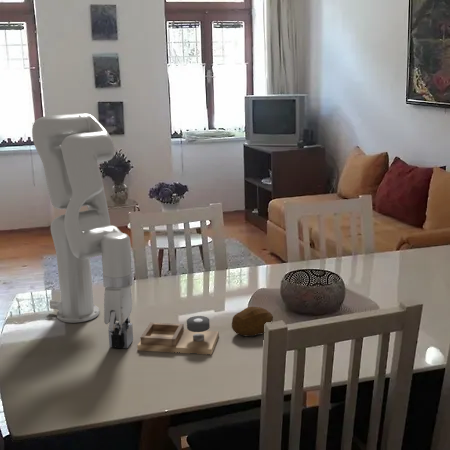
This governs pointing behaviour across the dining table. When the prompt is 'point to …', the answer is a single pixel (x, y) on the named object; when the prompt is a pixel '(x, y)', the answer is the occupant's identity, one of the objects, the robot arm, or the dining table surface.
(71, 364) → the dining table surface
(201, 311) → the dining table surface
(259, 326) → the potato
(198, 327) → the wheel
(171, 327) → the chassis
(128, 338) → the grey stone cube
